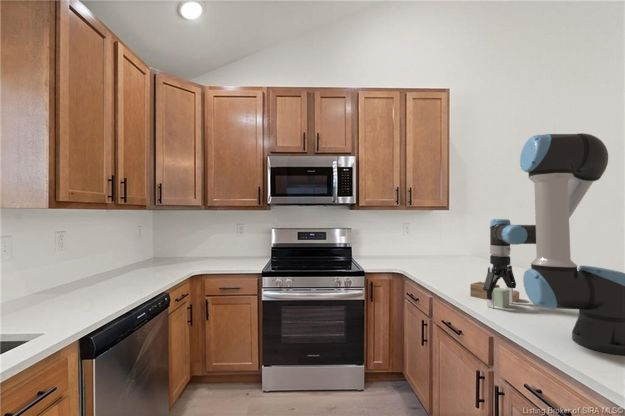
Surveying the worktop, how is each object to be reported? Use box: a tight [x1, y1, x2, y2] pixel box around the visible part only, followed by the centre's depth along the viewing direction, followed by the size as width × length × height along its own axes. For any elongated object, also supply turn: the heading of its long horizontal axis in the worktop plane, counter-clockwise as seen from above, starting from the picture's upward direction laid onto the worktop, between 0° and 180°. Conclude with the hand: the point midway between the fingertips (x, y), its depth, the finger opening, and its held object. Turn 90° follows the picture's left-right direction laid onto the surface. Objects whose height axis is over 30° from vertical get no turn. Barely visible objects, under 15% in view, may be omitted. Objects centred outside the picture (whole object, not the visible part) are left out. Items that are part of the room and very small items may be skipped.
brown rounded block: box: [513, 289, 520, 303], centre depth 152 cm, size 7×7×4 cm
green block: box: [493, 287, 510, 309], centre depth 143 cm, size 5×5×7 cm
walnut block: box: [469, 281, 500, 301], centre depth 158 cm, size 9×9×6 cm
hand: (500, 305), depth 143 cm, fingers open, 13 cm apart
